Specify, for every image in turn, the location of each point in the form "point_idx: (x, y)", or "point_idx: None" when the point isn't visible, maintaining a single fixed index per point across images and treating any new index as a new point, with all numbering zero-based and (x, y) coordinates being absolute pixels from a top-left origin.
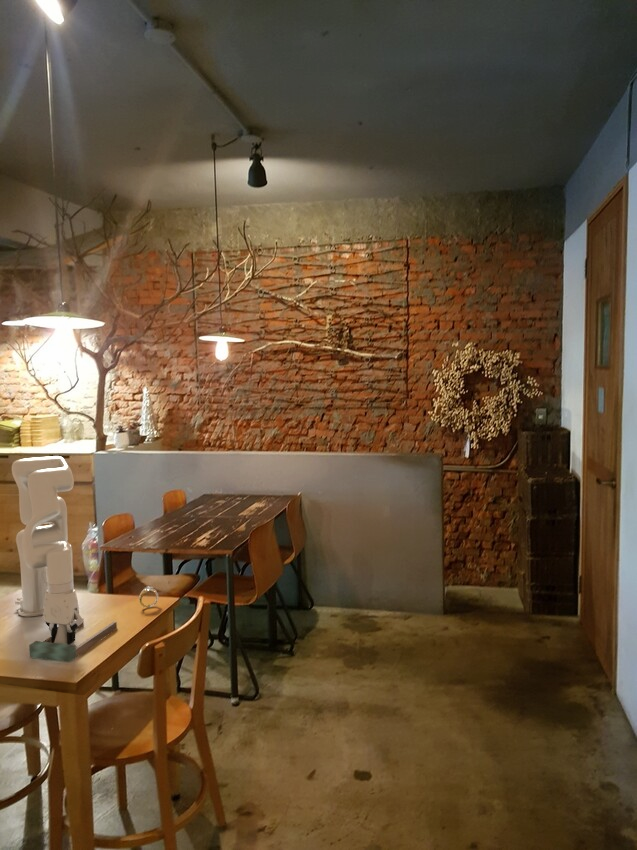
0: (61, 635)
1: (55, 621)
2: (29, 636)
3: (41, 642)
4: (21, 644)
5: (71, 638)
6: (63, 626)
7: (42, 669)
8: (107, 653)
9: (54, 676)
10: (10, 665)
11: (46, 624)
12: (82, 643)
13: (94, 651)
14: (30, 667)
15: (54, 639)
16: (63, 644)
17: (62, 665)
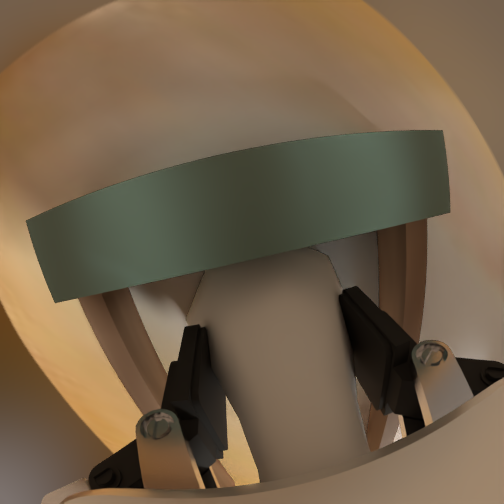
0: (262, 358)
1: (375, 498)
2: (494, 303)
3: (398, 207)
4: (493, 240)
5: (173, 373)
6: (272, 455)
7: (158, 50)
8: (38, 358)
9: (39, 59)
10: (389, 33)
11: (490, 361)
12: (131, 373)
13: (93, 358)
14: (260, 34)
15: (348, 313)
16: (150, 273)
17: (83, 151)
